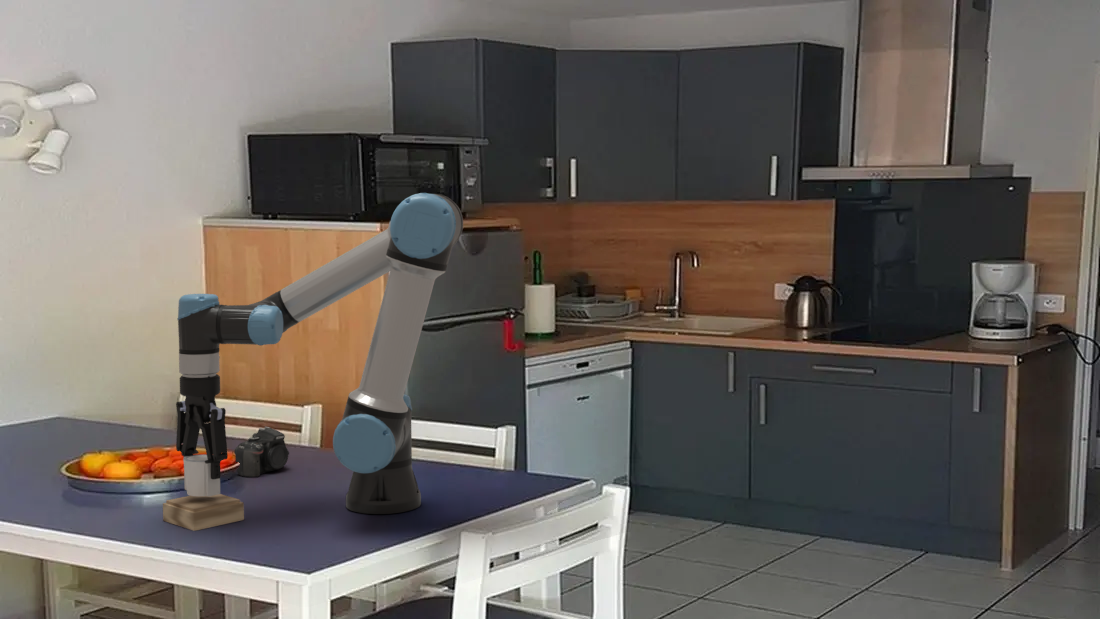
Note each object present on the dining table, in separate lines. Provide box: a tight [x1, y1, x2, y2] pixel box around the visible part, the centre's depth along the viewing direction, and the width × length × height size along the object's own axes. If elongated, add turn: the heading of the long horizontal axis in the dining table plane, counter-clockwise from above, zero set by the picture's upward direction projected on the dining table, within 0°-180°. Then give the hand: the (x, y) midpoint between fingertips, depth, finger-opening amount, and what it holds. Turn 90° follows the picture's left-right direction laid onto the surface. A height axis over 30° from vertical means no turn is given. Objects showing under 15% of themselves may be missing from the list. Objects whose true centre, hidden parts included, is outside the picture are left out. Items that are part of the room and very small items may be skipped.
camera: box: [233, 426, 290, 479], centre depth 289 cm, size 13×10×10 cm
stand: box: [162, 493, 245, 532], centre depth 247 cm, size 11×11×4 cm
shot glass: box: [182, 453, 208, 497], centre depth 246 cm, size 7×7×7 cm
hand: (202, 491), depth 246 cm, fingers closed on shot glass, 7 cm apart
